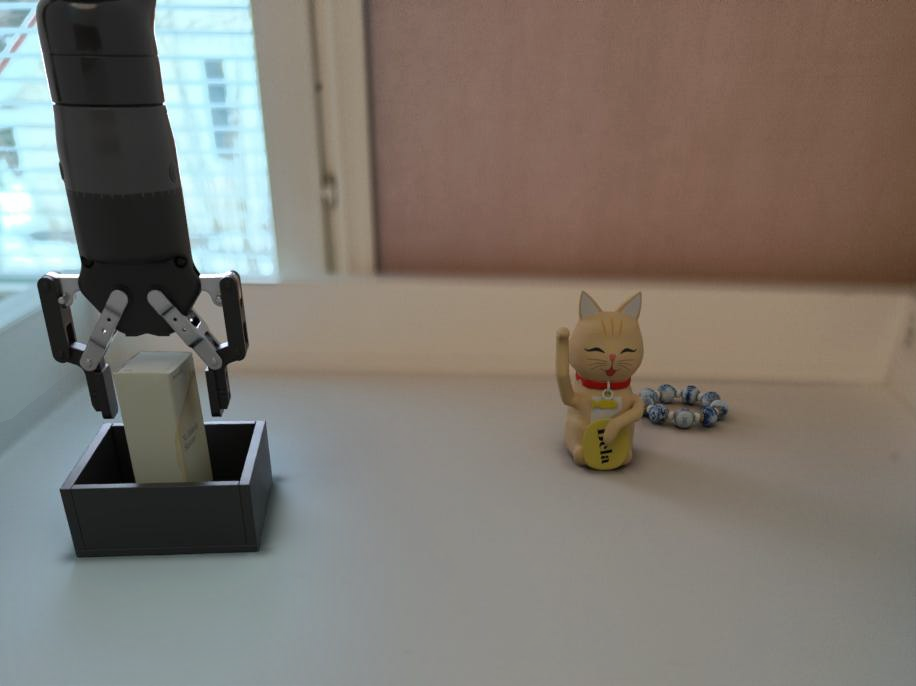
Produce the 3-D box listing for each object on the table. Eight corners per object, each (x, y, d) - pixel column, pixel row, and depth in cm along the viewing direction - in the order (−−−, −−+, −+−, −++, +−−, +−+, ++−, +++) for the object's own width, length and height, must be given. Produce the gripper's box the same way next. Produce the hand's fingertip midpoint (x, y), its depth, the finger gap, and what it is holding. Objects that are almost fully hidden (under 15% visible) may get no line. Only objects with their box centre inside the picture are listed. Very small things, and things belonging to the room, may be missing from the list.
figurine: (553, 475, 84) (565, 307, 76) (543, 436, 92) (553, 281, 84) (645, 475, 84) (666, 308, 76) (627, 437, 92) (645, 282, 84)
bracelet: (621, 419, 97) (623, 401, 95) (650, 393, 104) (652, 376, 103) (712, 436, 93) (715, 417, 92) (735, 408, 100) (738, 390, 99)
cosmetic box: (196, 526, 72) (171, 374, 66) (141, 524, 72) (109, 373, 66) (217, 493, 78) (195, 350, 71) (165, 492, 78) (138, 348, 71)
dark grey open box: (76, 557, 69) (58, 489, 66) (116, 484, 80) (103, 423, 77) (258, 551, 70) (249, 484, 67) (272, 480, 82) (265, 420, 79)
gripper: (237, 174, 65) (262, 397, 74) (30, 172, 64) (81, 400, 73) (224, 189, 59) (253, 430, 68) (-6, 187, 58) (55, 434, 67)
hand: (164, 414), depth 71 cm, fingers open, 7 cm apart
